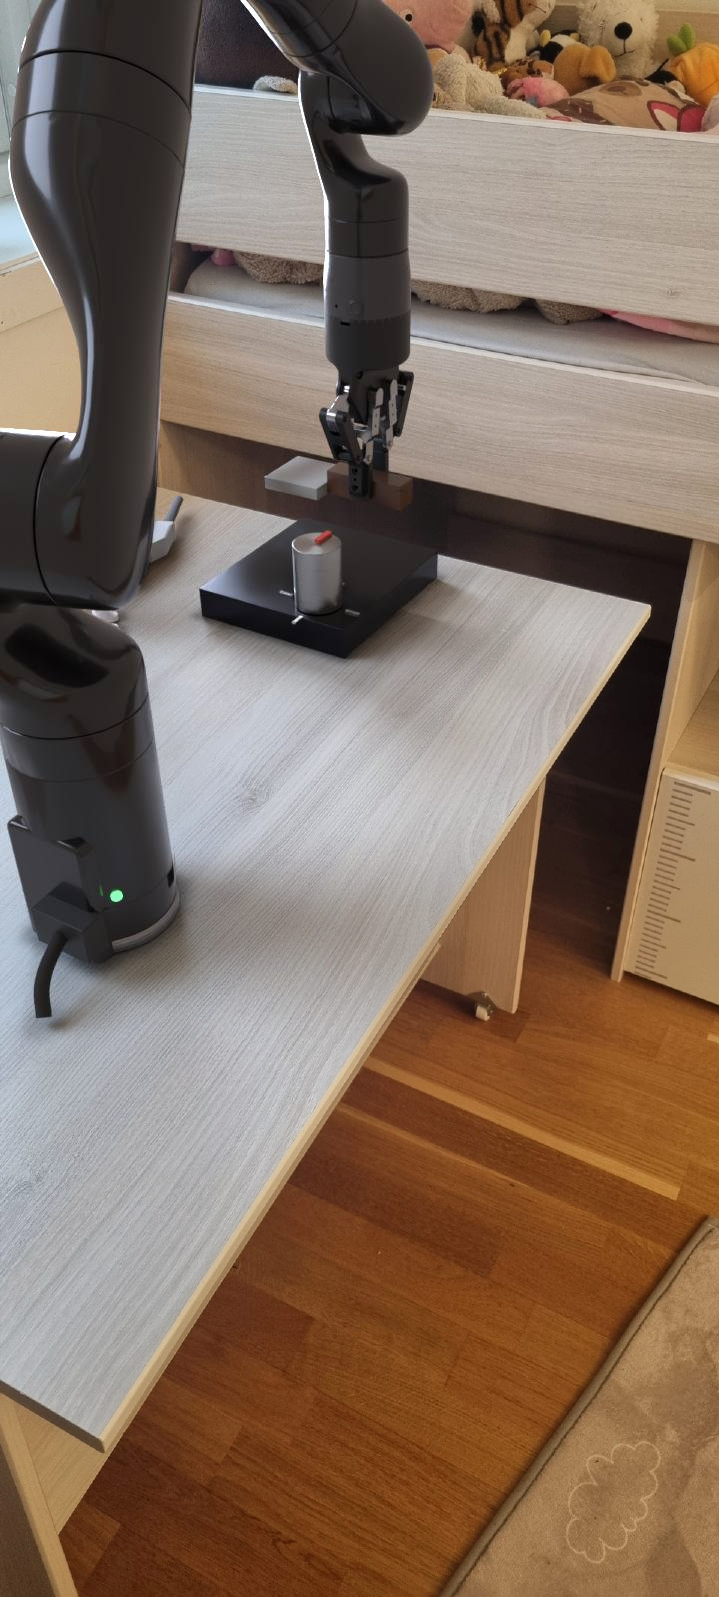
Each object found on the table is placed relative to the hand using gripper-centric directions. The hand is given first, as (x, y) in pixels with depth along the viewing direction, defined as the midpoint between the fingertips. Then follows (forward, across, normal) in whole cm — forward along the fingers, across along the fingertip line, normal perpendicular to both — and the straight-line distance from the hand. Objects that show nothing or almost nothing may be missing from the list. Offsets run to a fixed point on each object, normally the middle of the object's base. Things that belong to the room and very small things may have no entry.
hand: (368, 491), depth 114 cm
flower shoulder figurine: (+10, +20, -18) cm, 28 cm away
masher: (+1, 0, -2) cm, 3 cm away
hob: (+9, +5, -2) cm, 11 cm away
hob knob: (+6, +11, +1) cm, 13 cm away
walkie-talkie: (+10, +6, -26) cm, 28 cm away
